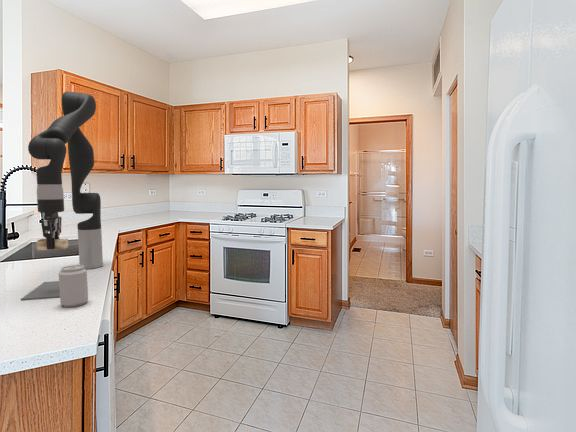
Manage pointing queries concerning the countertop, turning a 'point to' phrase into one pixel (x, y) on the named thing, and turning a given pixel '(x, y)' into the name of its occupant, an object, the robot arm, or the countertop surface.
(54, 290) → the mat
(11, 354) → the countertop surface
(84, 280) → the can
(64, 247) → the beige rectangular block
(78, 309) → the countertop surface
